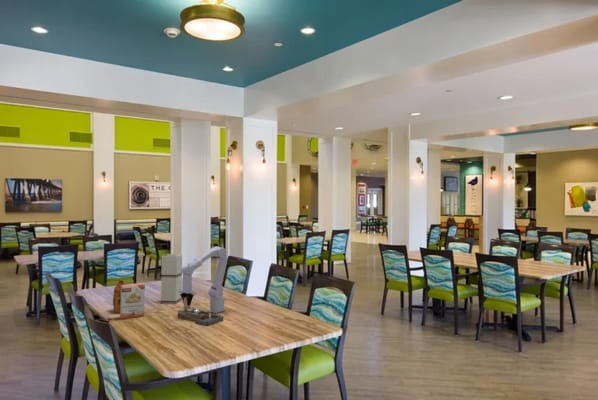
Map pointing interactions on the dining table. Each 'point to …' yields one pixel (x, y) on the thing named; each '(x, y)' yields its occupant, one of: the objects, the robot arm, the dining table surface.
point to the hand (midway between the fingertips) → (187, 304)
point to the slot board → (202, 316)
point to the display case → (171, 278)
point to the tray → (209, 320)
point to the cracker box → (132, 300)
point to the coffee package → (117, 295)
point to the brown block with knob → (186, 304)
